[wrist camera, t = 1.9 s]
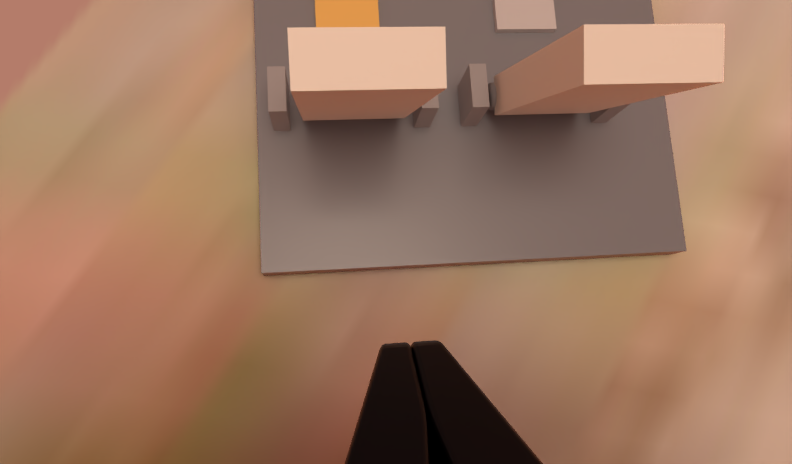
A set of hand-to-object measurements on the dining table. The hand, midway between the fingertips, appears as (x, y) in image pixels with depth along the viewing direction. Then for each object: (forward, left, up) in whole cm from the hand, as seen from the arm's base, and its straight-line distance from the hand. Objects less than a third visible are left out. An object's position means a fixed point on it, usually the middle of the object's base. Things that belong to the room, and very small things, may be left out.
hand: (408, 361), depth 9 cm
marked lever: (+4, -7, -12) cm, 14 cm away
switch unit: (+1, -9, -14) cm, 16 cm away
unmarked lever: (-2, -11, -12) cm, 16 cm away
